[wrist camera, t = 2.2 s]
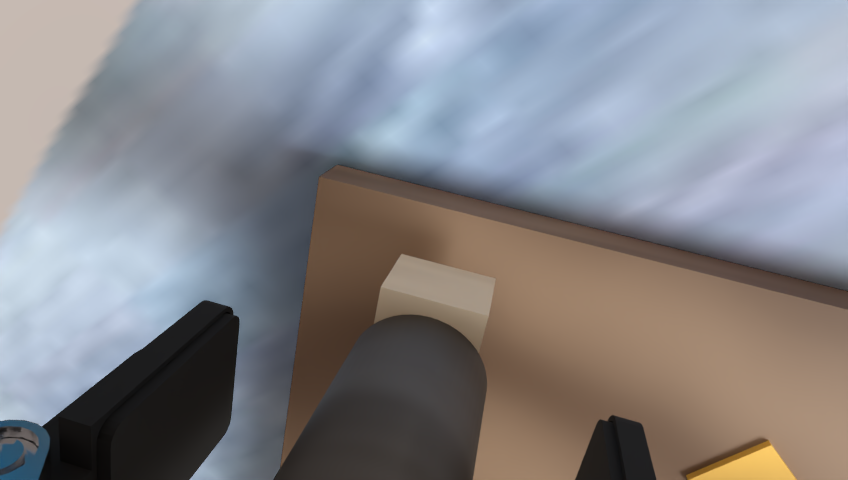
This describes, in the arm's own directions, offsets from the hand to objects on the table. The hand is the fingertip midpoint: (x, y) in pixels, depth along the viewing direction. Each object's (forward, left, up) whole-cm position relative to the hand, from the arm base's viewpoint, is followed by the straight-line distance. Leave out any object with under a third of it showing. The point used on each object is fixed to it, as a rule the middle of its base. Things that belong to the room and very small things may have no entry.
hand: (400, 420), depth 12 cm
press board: (-10, -5, -6) cm, 13 cm away
